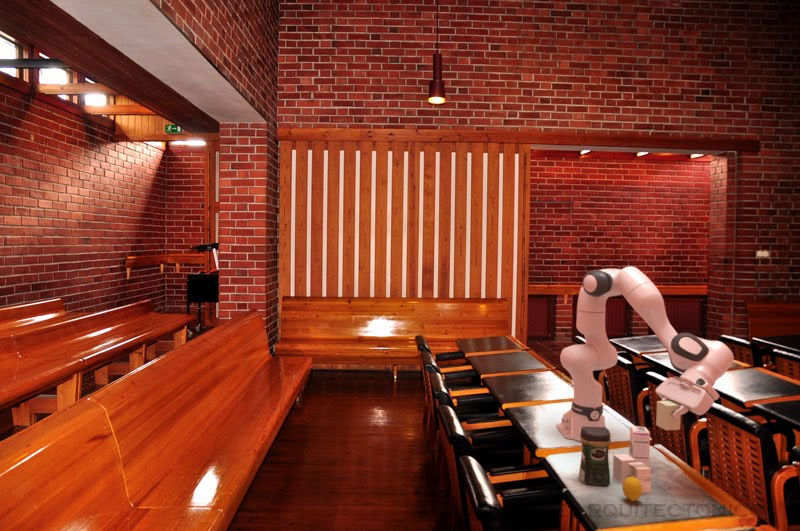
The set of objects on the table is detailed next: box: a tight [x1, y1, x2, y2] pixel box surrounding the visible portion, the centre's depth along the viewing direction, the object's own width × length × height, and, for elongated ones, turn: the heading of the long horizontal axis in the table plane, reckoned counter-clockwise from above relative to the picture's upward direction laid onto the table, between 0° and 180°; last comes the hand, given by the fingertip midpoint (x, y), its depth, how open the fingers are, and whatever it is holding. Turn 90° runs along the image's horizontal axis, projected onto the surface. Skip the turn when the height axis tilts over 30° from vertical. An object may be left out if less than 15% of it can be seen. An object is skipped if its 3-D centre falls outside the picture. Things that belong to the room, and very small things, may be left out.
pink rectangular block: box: [612, 453, 636, 485], centre depth 182 cm, size 5×5×8 cm
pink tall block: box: [628, 462, 652, 494], centre depth 175 cm, size 5×5×8 cm
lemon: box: [622, 476, 643, 502], centre depth 167 cm, size 6×6×8 cm
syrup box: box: [628, 425, 651, 467], centre depth 191 cm, size 6×6×14 cm
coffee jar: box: [578, 426, 611, 486], centre depth 180 cm, size 10×8×19 cm
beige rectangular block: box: [655, 400, 682, 431], centre depth 174 cm, size 5×5×8 cm
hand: (666, 413), depth 174 cm, fingers closed on beige rectangular block, 5 cm apart
